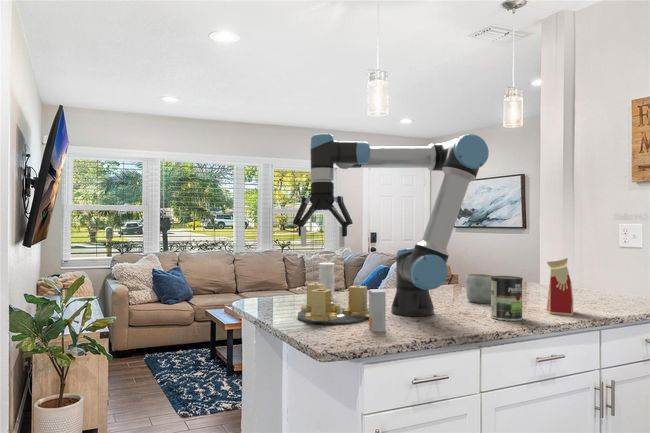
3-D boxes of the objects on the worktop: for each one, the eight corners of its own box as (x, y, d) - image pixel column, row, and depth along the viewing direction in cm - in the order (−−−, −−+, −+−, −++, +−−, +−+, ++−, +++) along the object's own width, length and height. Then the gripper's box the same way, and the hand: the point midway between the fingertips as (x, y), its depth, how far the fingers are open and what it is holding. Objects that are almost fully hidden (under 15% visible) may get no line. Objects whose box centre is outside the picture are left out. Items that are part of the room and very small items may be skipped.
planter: (501, 304, 206) (501, 277, 206) (470, 304, 206) (470, 277, 206) (491, 299, 219) (491, 273, 219) (462, 299, 219) (462, 273, 219)
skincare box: (368, 327, 161) (368, 289, 161) (382, 327, 161) (382, 289, 161) (371, 332, 155) (372, 292, 155) (386, 331, 155) (386, 291, 155)
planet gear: (330, 322, 161) (330, 293, 161) (297, 319, 166) (298, 291, 166) (343, 316, 172) (343, 289, 172) (312, 313, 176) (312, 287, 176)
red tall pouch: (573, 311, 191) (573, 257, 191) (573, 316, 182) (573, 259, 182) (546, 309, 194) (546, 256, 194) (545, 313, 186) (545, 258, 186)
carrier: (379, 315, 182) (379, 283, 182) (357, 327, 161) (357, 291, 161) (309, 309, 193) (309, 279, 193) (280, 320, 172) (280, 287, 172)
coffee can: (529, 319, 175) (529, 277, 175) (507, 322, 171) (507, 279, 171) (505, 314, 184) (505, 274, 184) (484, 317, 180) (484, 276, 180)
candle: (317, 299, 216) (317, 264, 216) (319, 297, 223) (320, 262, 223) (333, 300, 215) (333, 264, 215) (335, 297, 222) (335, 262, 222)
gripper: (362, 181, 169) (362, 246, 169) (292, 183, 178) (293, 245, 178) (354, 179, 162) (354, 247, 162) (283, 182, 171) (283, 246, 171)
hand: (322, 246), depth 170 cm, fingers open, 13 cm apart
